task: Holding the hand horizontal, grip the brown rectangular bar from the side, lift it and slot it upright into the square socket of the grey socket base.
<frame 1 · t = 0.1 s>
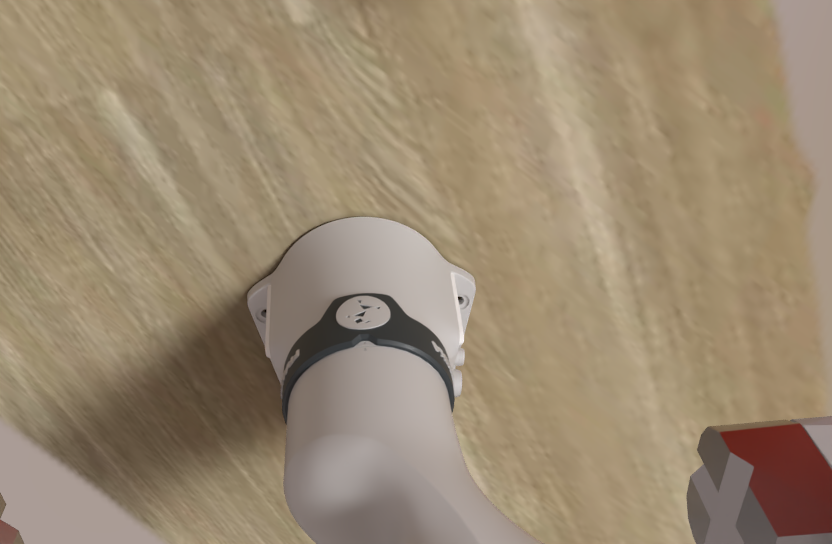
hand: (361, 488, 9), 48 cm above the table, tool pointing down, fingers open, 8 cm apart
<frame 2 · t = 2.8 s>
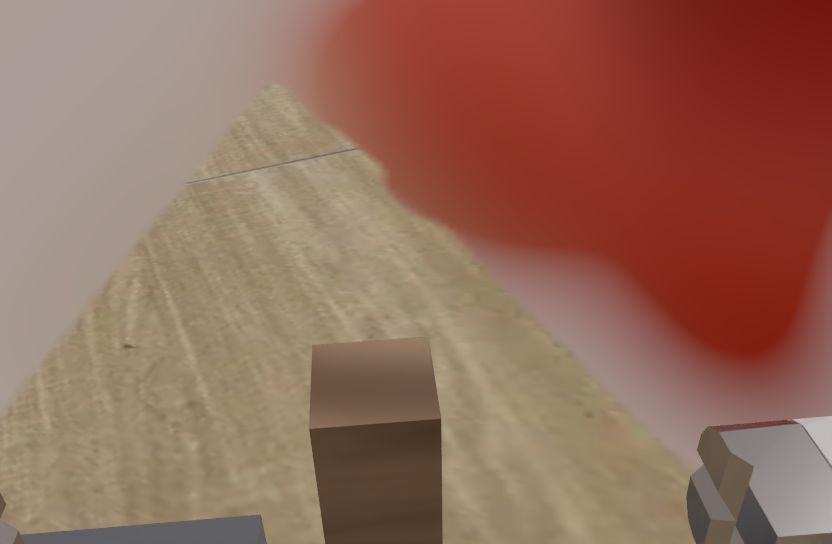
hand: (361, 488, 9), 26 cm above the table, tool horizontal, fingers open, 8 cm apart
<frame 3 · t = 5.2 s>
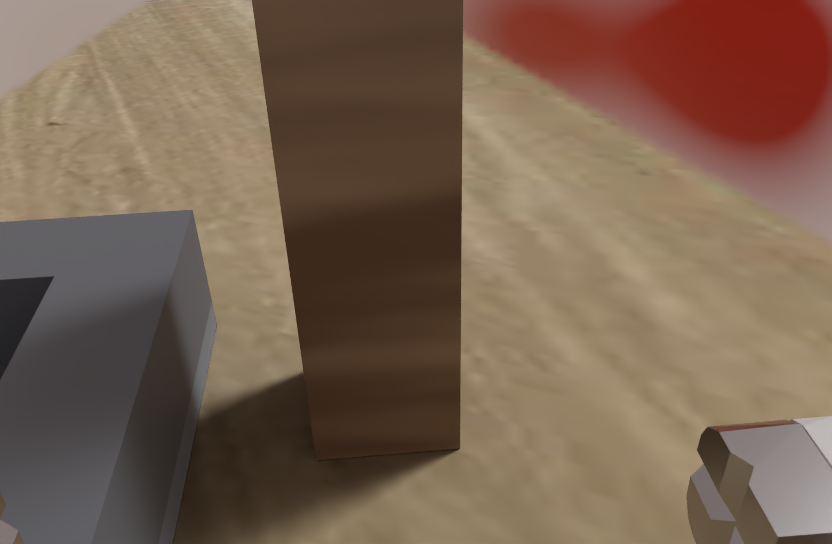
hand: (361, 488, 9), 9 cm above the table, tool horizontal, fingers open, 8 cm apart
brown rectangular bar: (384, 404, 24), on the table
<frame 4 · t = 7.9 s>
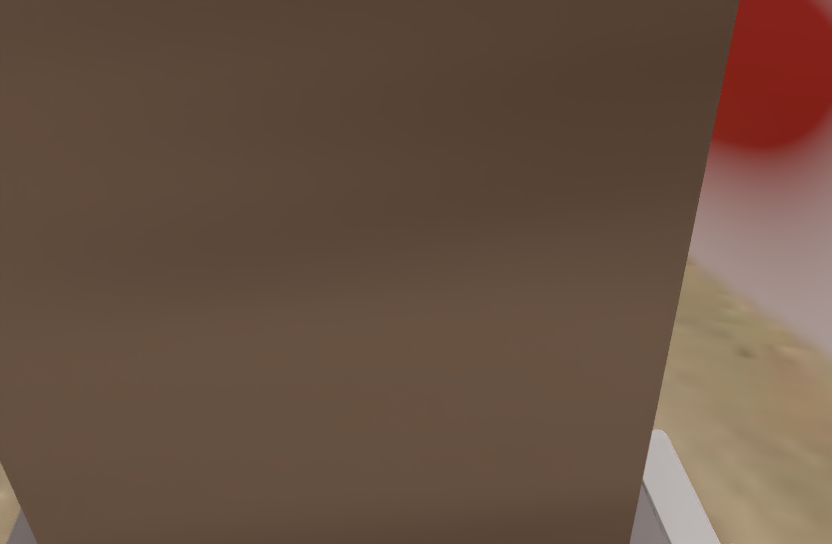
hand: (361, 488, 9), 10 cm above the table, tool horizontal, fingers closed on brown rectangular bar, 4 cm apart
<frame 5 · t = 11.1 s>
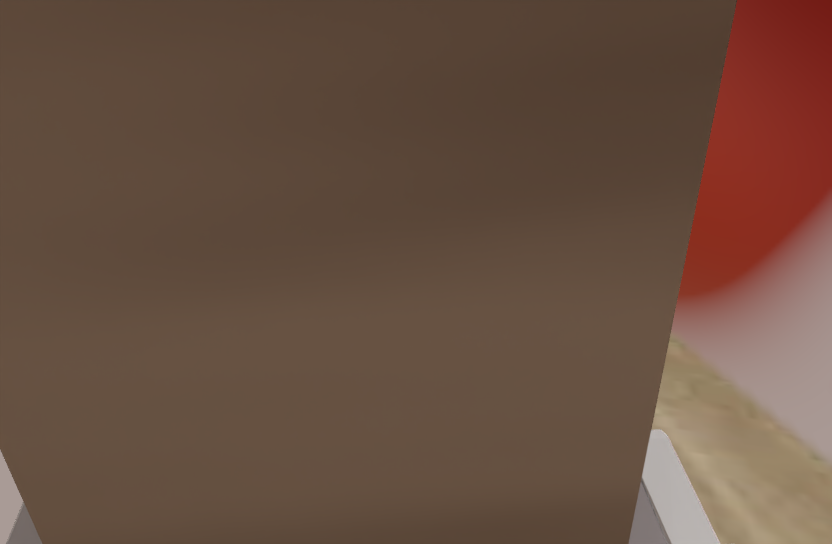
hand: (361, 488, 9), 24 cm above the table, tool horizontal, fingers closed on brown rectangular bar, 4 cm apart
when the fingers open (12 cm above the table, at t = 14.4 s): brown rectangular bar drops 1 cm, resting on grey socket base.
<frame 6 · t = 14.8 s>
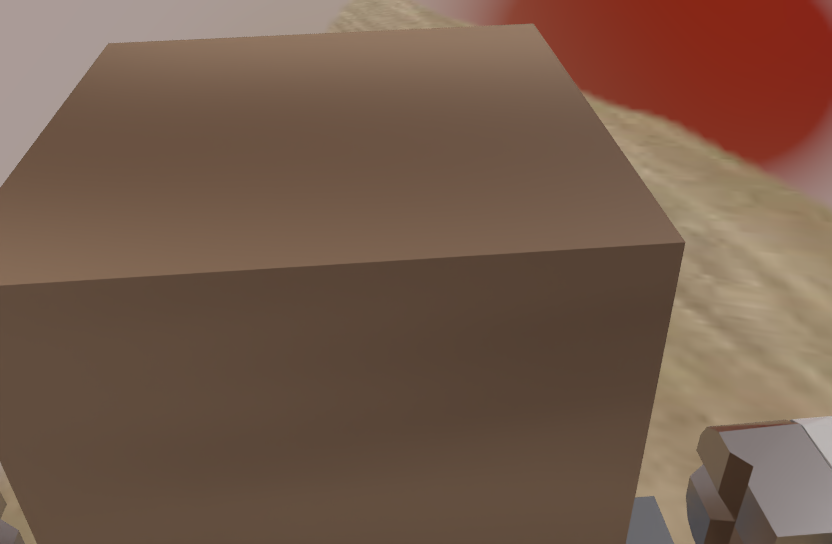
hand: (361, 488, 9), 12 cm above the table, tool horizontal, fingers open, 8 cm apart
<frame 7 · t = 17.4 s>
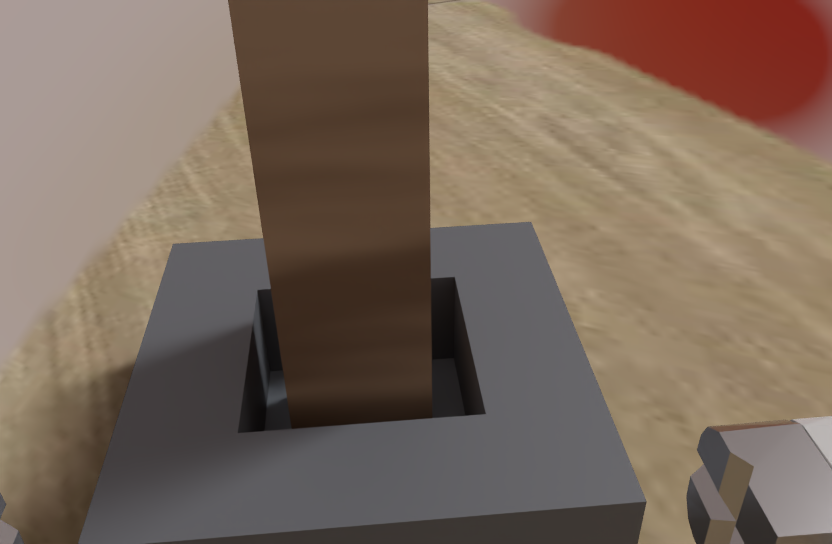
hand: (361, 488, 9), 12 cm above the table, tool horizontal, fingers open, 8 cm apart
grey socket base: (367, 452, 26), on the table
brown rectangular bar: (364, 429, 25), point 1 cm above the table, touching grey socket base
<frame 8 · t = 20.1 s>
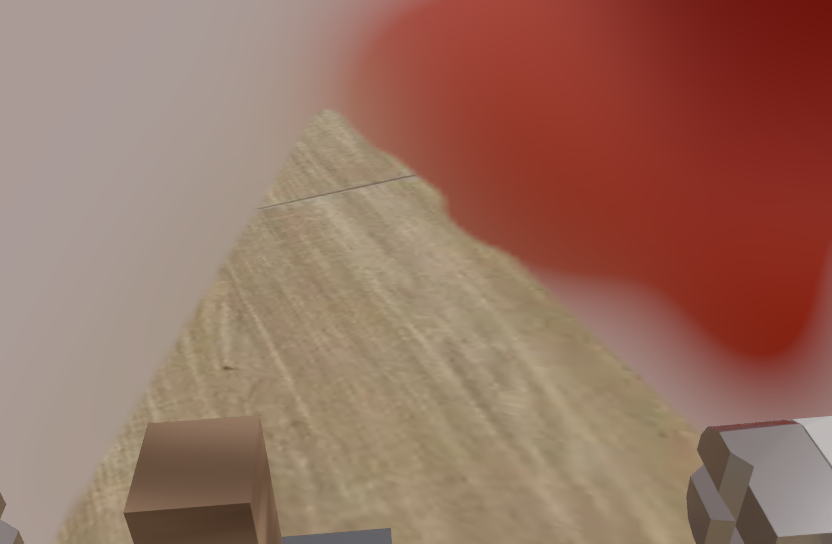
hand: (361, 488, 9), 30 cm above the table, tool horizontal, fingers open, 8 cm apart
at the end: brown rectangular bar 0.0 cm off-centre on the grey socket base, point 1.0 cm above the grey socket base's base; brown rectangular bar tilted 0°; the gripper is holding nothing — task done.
